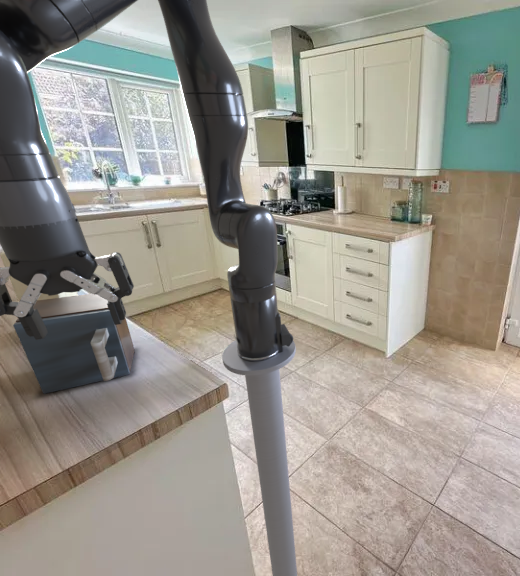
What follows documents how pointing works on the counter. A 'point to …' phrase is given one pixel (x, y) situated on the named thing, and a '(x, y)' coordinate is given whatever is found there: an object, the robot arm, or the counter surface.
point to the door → (75, 350)
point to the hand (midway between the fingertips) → (82, 329)
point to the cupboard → (83, 305)
